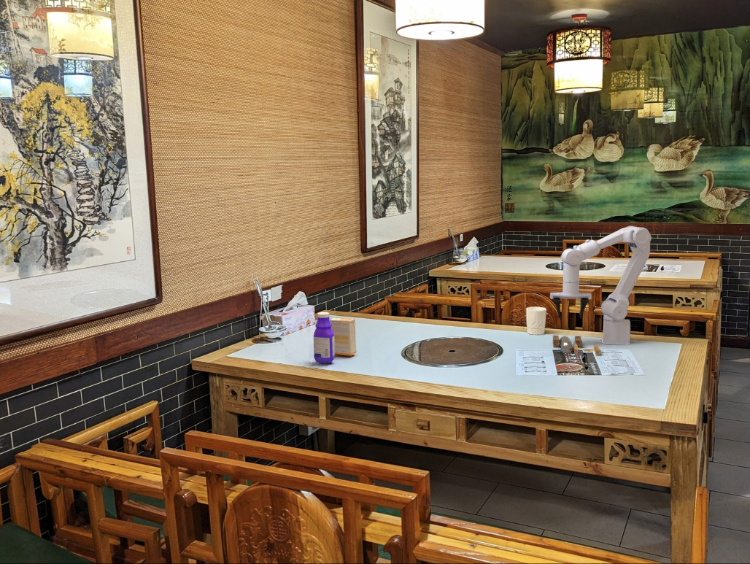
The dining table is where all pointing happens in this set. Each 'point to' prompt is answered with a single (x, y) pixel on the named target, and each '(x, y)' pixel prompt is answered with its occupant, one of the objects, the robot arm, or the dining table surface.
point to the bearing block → (556, 341)
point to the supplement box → (344, 335)
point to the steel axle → (566, 345)
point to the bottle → (324, 339)
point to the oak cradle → (596, 349)
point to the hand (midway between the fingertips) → (570, 317)
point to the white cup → (535, 320)
